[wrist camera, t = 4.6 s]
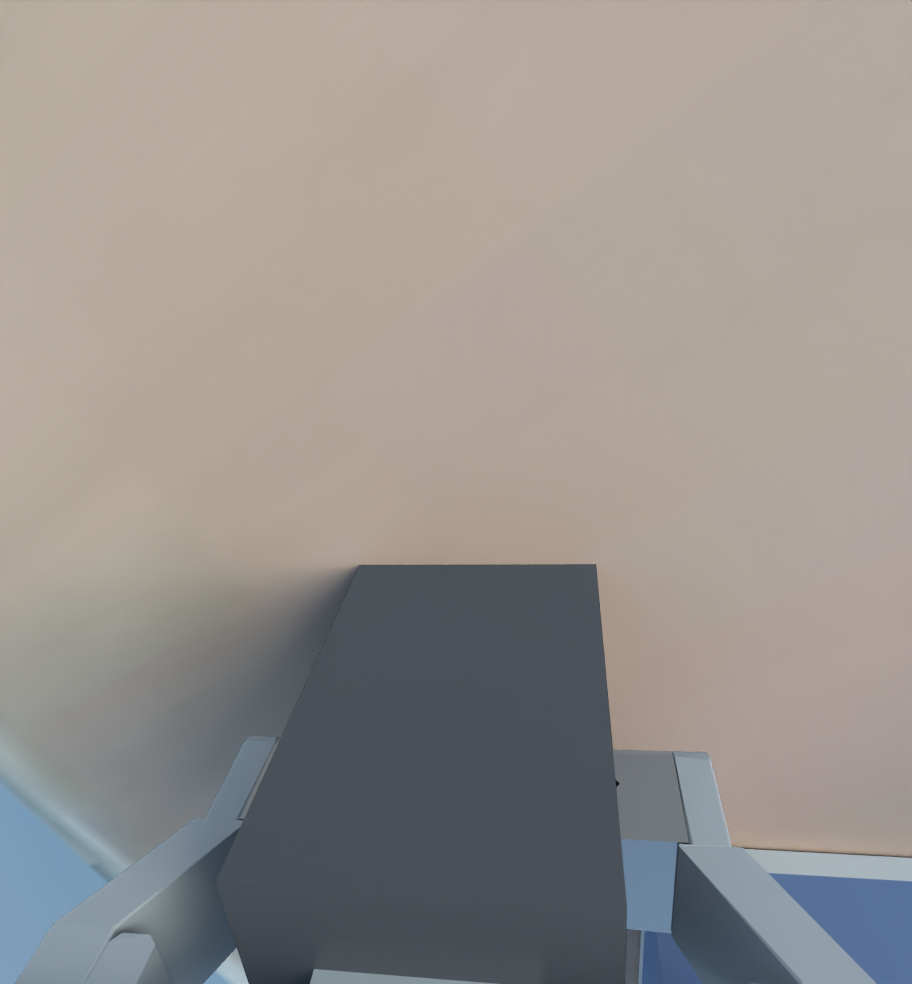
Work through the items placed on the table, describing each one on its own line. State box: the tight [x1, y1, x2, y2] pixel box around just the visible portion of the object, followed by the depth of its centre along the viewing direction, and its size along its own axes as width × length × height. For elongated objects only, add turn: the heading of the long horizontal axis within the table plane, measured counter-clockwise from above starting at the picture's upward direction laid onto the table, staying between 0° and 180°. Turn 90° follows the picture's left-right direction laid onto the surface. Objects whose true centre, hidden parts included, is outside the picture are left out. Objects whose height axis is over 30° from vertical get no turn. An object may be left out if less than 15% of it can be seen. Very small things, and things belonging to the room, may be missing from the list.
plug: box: [215, 564, 627, 984], centre depth 11 cm, size 5×4×6 cm
